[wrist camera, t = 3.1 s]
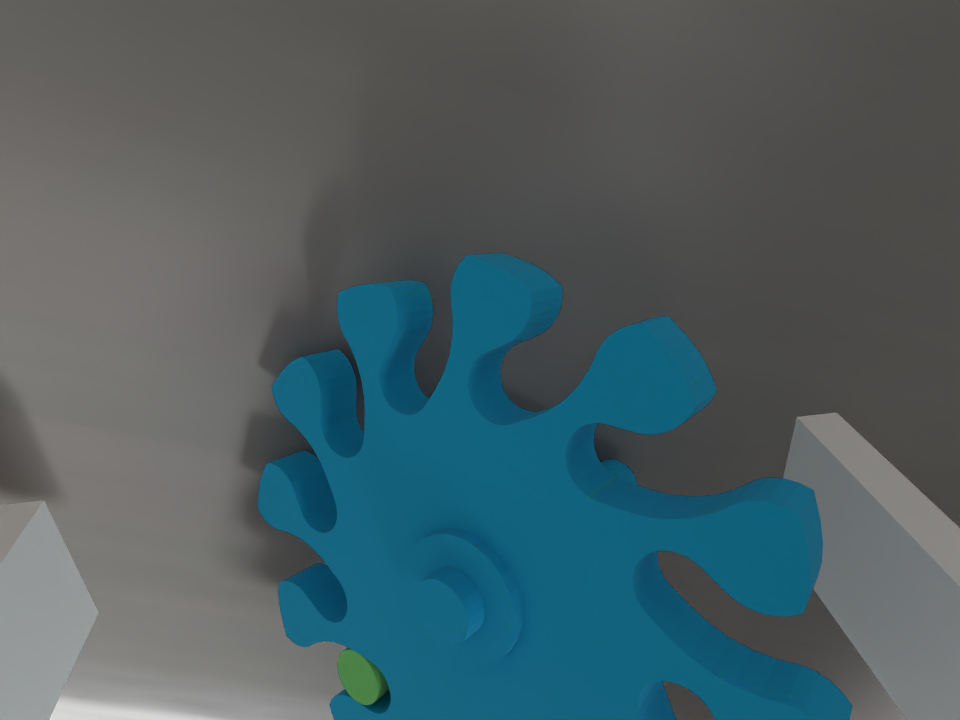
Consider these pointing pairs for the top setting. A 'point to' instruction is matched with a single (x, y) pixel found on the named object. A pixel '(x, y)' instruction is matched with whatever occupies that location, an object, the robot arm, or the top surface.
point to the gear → (522, 525)
